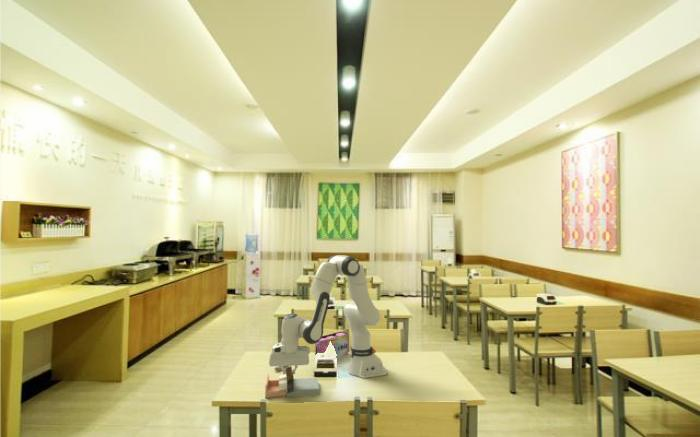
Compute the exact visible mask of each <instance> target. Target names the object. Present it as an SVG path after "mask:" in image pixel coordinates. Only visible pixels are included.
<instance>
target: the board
mask: <svg viewBox="0 0 700 437" xmlns="http://www.w3.org/2000/svg"><path fill="white" fill-rule="evenodd" d="M319 395H320V386H319V379H318V377H304V378H294V392H291V393H288V391H287V390H286V397H287V398H290V397H306V396H319Z"/></svg>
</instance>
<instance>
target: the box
mask: <svg viewBox="0 0 700 437" xmlns="http://www.w3.org/2000/svg"><path fill="white" fill-rule="evenodd" d="M265 381H266V382H265V388H264V389H265V393H264V395H265V396H264V397H265V399H271V398H286V397H287V389H286V390H279V379H270V374H267V376H266V380H265Z"/></svg>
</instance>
